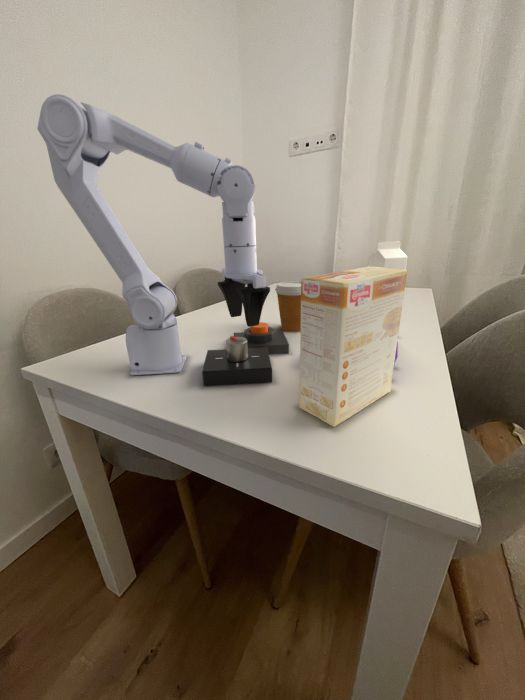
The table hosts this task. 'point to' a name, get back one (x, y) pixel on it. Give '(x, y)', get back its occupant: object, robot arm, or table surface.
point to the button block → (266, 340)
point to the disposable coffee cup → (289, 305)
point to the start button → (259, 328)
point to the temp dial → (236, 349)
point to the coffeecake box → (348, 339)
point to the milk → (388, 256)
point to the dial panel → (237, 368)
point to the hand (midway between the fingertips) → (244, 320)
